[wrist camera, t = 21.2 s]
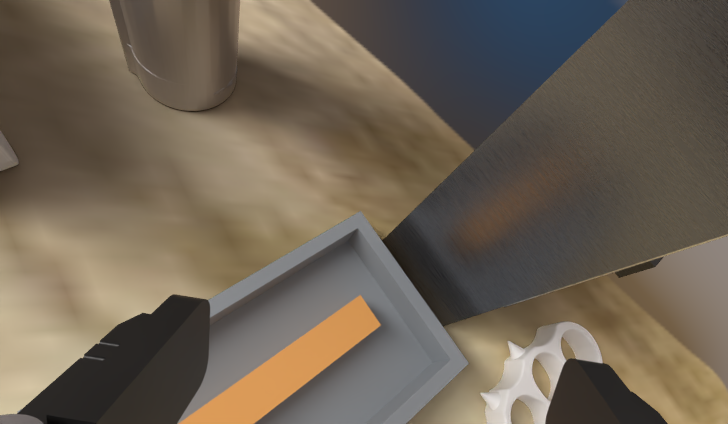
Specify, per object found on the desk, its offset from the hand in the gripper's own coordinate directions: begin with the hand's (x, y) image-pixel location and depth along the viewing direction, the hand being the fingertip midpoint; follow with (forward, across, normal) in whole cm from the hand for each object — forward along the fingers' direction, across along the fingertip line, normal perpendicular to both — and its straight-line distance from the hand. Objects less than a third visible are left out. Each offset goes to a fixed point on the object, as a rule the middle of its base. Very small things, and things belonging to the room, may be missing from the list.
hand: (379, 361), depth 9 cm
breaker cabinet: (+33, -9, +9) cm, 36 cm away
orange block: (+19, +7, +18) cm, 27 cm away
